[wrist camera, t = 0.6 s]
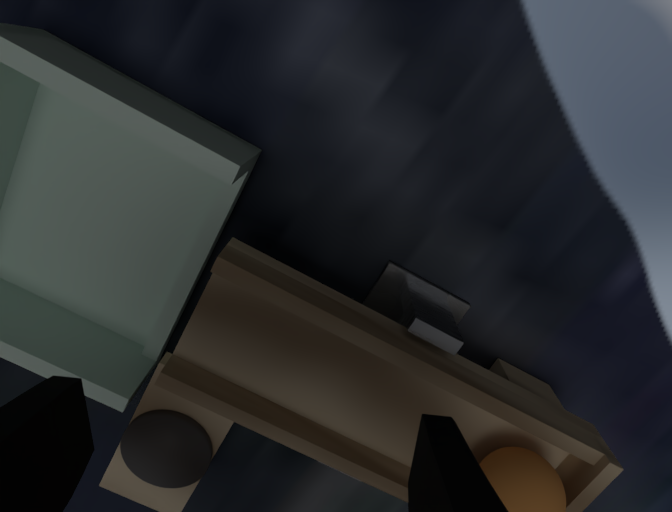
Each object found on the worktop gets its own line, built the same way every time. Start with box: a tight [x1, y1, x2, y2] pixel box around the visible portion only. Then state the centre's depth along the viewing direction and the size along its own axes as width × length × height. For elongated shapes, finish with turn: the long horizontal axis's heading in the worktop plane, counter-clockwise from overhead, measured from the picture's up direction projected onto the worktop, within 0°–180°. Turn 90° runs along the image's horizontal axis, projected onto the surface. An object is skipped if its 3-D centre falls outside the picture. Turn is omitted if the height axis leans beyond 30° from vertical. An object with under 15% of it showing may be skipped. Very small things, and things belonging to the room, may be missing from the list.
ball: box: [479, 447, 566, 512], centre depth 18 cm, size 3×3×3 cm
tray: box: [0, 23, 262, 412], centre depth 19 cm, size 11×9×4 cm
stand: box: [318, 260, 471, 482], centre depth 20 cm, size 8×4×4 cm, turn 151°
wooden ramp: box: [99, 237, 624, 512], centre depth 21 cm, size 13×16×5 cm
